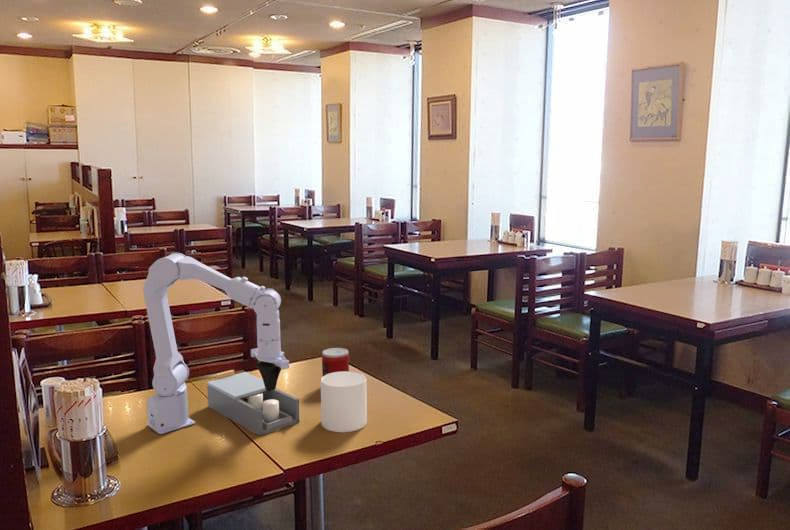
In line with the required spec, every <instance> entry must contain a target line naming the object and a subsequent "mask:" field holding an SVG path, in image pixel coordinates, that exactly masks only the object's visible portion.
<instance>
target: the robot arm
mask: <svg viewBox="0 0 790 530" xmlns="http://www.w3.org/2000/svg"><path fill="white" fill-rule="evenodd" d="M192 279H195V280H198V281H201V282H203V283H206V284H208V285H211V286H213V287H215V288H218V289H220V290H223V291H225V293H226V295H227V298H228V299H231V300H233V301H235V302H237V303H239V304H242V305H244V306H246V307H248V308H251V309H253V310H254V312H255V313H256V336H257V337H256V339H257V343H256V344H257V348H251V349H250V357H252V358H256V359H257V360H258V361H260V362H257V363H255V367H256V369H257V370H258V372H259V374H260V375H261V379H262V380H263V382H264V385H265V389H266V390H267V391H272V390H275V388H276V389H277V382H278V378H279V377H280V373H281V371H283V370H287V369H290V360H288V359H286V357H285V352H284V351H282V347H281V345H282V344H281V343H282V341H281V320H280V310H279V308H280V306H281V304H282V303H281V302H282V298H281V295H280V294H279V293H278V292H277V291H276V290H275V289H274V288H266V286H264V285H261V286H259V285H258V284H255V283H253V282H251V281H249V277H246V276H242V277H241V276H236V277H233V278H231V277H229V276H227V275H225V274H223V273H221V272H220V271H217V270H216V269H213V267H210V266H208V265H206V264H204V263H202V262H200V261H199V260H197V259H196V258H193V257H192V256H189V255H188V256H187V255H185V254H183V253H181V252H172V253H170V254H169V255H167V256H164V257H161V258H158V259H157V260H155V261H154V262H153V263H152V264H151V265H150V267H149V268H148V274H147V277H146V279H145V282H144V285H143V287H142V291H143V297H144V303H145V308H146V314H147V318H148V323H149V328H150V334H151V337H152V342H153V348H154V354H155V362H154V365H153V378H152V382H151V384H152V387H153V389H154V391H155V392H156V393H154V394H153V395H150V396H148V397H147V399H146V411H147V413H146V414H147V423H146V426H147V427H149V428H150V429H152V430H153V431H154V432H156V433H157V434H159V435H163V434H165V433H169V432H172V431H175V430H179V429H181V428H185V427H188V426H192V425H196V421H195V420H193V419H192V418H190V417H189V405H188V404H189V403H188V389H187V387H188V386H187V385H186V382H187V380H188V378H189V376H190V369H189V367H188V365H187V364H186V363H185V362H184V356H183V355H182V354H181V353H180V352H179V351H178V345H177V341H176V340H177V339H176V336H175V330H174V325H173V319H172V316H171V315H172V314H171V311H170V309H171V308H170V304H169V299H168V294H167V293H168V292H169V290H170V288H171V287H173V285H174V284H175V282H176V281H178V280H179V281H185V280H192Z"/></svg>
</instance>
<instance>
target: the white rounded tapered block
mask: <svg viewBox="0 0 790 530" xmlns="http://www.w3.org/2000/svg"><path fill="white" fill-rule="evenodd" d="M246 399H247V403H248V404H250V405H252V406H254V407H256V408H258V409H260V410H262V411H263V393H262V392H260V393H256V394H253V395H250V396H247V398H246Z"/></svg>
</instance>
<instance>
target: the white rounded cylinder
mask: <svg viewBox="0 0 790 530" xmlns="http://www.w3.org/2000/svg"><path fill="white" fill-rule="evenodd" d="M263 419H264V421H265V422H267V423H270V422H273V421H276V420H279V401H278V400H274V399H270V400H266V401H264V402H263Z"/></svg>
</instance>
